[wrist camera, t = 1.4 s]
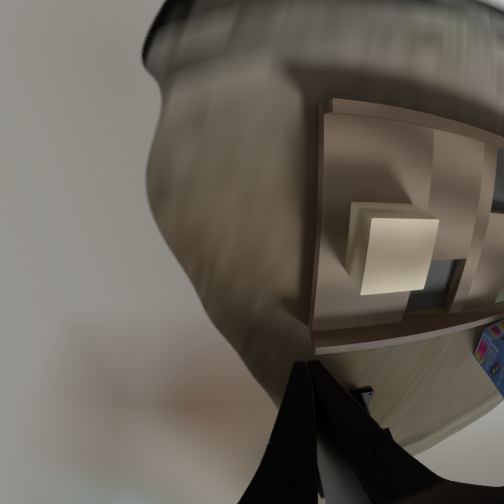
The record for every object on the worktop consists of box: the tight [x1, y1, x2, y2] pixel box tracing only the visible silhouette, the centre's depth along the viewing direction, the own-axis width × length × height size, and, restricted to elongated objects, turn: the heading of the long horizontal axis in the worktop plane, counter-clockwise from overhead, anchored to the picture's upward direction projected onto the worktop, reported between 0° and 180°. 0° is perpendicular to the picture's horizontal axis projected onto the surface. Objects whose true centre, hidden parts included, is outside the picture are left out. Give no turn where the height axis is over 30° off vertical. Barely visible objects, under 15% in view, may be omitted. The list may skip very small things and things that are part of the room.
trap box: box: [308, 98, 504, 355], centre depth 18 cm, size 18×29×4 cm, turn 92°
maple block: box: [345, 202, 439, 295], centre depth 17 cm, size 5×5×4 cm
